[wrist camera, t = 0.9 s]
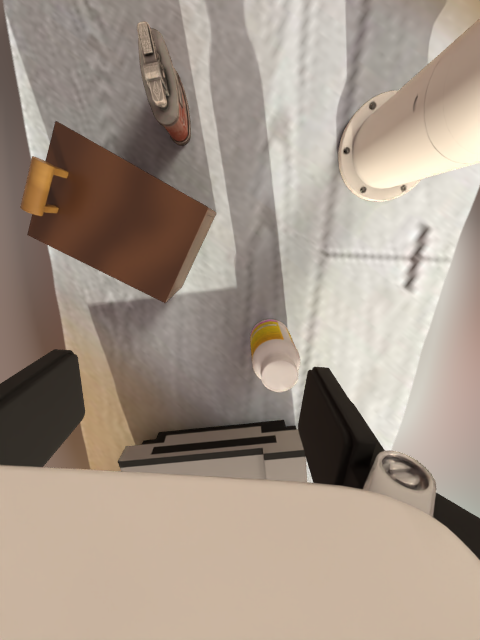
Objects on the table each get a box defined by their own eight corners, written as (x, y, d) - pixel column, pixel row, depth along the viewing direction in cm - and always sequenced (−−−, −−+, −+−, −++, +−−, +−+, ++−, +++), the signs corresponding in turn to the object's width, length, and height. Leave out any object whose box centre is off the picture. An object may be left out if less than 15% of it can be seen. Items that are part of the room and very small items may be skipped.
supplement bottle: (242, 339, 45) (242, 380, 33) (266, 310, 43) (275, 342, 31) (272, 360, 46) (283, 407, 34) (296, 332, 44) (317, 371, 32)
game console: (133, 431, 52) (114, 467, 44) (295, 415, 50) (305, 449, 42) (157, 505, 58) (145, 547, 51) (301, 493, 57) (310, 535, 49)
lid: (32, 234, 31) (-6, 235, 26) (60, 123, 27) (22, 101, 23) (166, 301, 34) (154, 313, 29) (209, 208, 30) (203, 204, 25)
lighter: (195, 142, 35) (177, 111, 26) (170, 147, 36) (145, 117, 26) (181, 68, 33) (156, 3, 23) (155, 74, 33) (120, 11, 24)
